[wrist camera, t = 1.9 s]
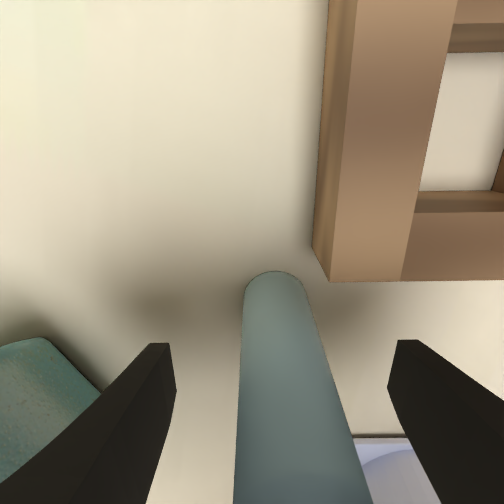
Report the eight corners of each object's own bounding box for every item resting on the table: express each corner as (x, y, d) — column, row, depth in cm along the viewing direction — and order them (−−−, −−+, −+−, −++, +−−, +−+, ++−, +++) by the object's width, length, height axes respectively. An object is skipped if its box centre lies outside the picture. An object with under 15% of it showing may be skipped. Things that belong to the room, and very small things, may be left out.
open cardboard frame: (529, 244, 12) (611, 278, 9) (311, 247, 12) (329, 282, 9) (638, -42, 9) (820, -121, 6) (331, -36, 9) (368, -112, 6)
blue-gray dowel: (304, 324, 14) (364, 552, 6) (244, 325, 14) (234, 553, 6) (307, 270, 13) (385, 470, 5) (242, 271, 13) (229, 471, 5)
